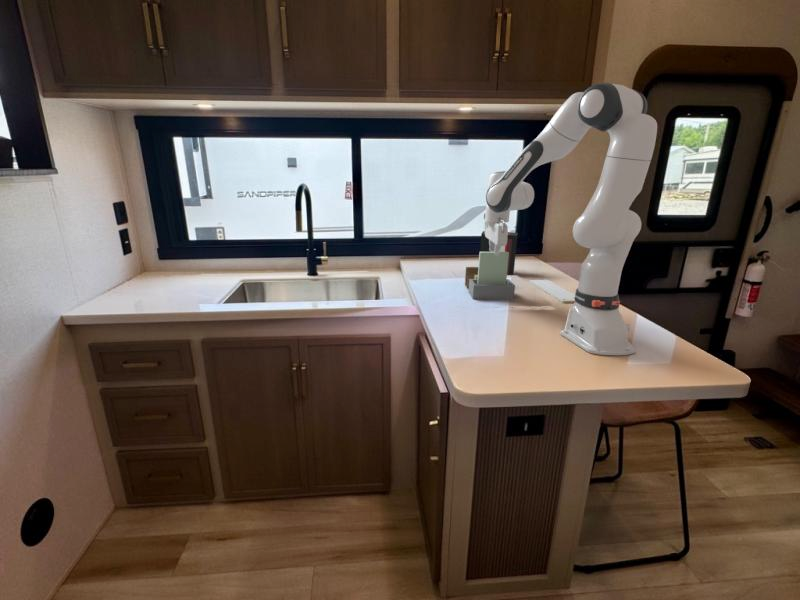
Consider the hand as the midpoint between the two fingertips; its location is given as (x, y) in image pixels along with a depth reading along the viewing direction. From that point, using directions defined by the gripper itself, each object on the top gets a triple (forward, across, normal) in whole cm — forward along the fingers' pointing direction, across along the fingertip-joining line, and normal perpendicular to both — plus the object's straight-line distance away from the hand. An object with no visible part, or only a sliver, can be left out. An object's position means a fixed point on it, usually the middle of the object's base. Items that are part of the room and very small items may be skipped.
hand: (494, 253), depth 158 cm
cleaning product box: (+19, +42, -13) cm, 47 cm away
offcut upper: (+14, +8, +1) cm, 16 cm away
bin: (+19, 0, 0) cm, 19 cm away
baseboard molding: (+20, +11, -32) cm, 39 cm away
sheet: (+18, 0, 0) cm, 18 cm away
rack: (+19, +10, 0) cm, 21 cm away
